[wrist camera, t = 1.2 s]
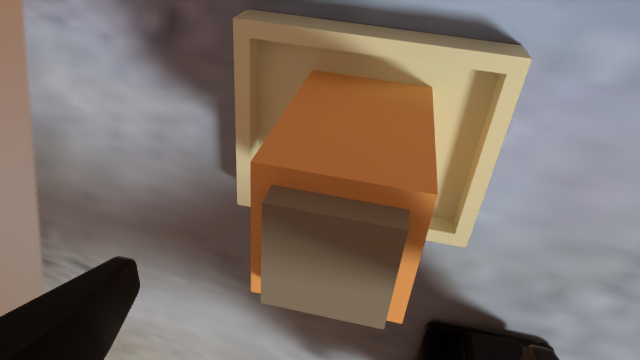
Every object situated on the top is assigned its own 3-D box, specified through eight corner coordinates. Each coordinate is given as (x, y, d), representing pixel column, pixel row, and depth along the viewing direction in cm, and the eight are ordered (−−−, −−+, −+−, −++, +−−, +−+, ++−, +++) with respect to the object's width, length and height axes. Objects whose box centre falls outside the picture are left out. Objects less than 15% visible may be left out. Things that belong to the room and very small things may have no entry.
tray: (462, 224, 20) (466, 247, 18) (249, 185, 21) (237, 204, 19) (522, 45, 15) (531, 58, 14) (248, 9, 16) (232, 17, 15)
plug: (408, 188, 18) (401, 347, 12) (305, 170, 19) (241, 312, 12) (432, 87, 16) (439, 214, 9) (312, 69, 17) (238, 178, 10)
